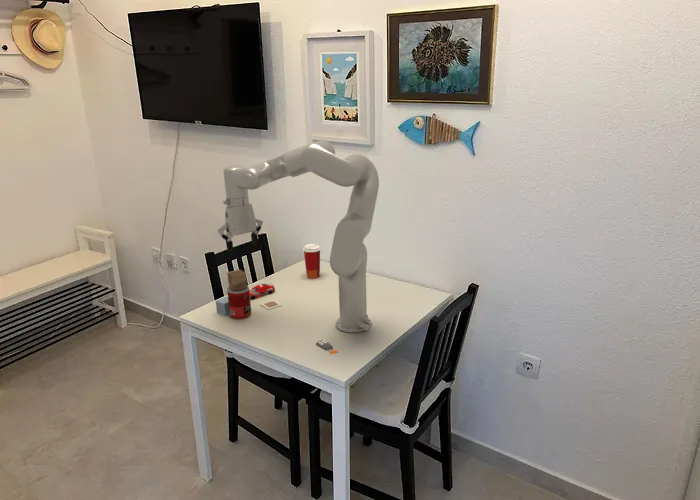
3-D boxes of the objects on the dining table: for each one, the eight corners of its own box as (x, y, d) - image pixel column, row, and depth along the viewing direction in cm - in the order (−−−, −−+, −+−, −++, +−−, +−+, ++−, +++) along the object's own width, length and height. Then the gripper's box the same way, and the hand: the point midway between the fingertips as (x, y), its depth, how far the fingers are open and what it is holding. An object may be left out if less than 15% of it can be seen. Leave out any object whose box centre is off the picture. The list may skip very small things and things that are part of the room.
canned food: (249, 319, 197) (246, 291, 194) (227, 319, 198) (224, 292, 194) (253, 310, 205) (250, 283, 201) (232, 310, 205) (229, 284, 201)
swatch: (281, 305, 208) (281, 304, 208) (268, 309, 204) (268, 308, 204) (274, 300, 212) (274, 299, 212) (260, 304, 209) (260, 303, 209)
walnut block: (247, 288, 197) (245, 272, 195) (234, 291, 194) (233, 276, 192) (241, 284, 201) (239, 269, 199) (228, 287, 198) (227, 272, 196)
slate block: (235, 311, 204) (234, 299, 203) (225, 316, 201) (224, 303, 199) (227, 308, 207) (226, 296, 206) (216, 312, 203) (215, 300, 202)
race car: (248, 302, 213) (247, 292, 211) (241, 297, 217) (240, 288, 215) (277, 293, 220) (276, 284, 219) (270, 289, 224) (269, 280, 223)
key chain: (314, 346, 178) (314, 342, 178) (323, 342, 180) (323, 338, 180) (338, 361, 168) (338, 357, 168) (347, 357, 171) (347, 353, 170)
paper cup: (315, 272, 241) (313, 242, 236) (325, 276, 235) (324, 246, 230) (300, 276, 236) (299, 246, 231) (311, 281, 230) (309, 250, 226)
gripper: (219, 207, 180) (225, 256, 186) (264, 198, 190) (269, 244, 196) (210, 204, 186) (216, 250, 191) (254, 195, 196) (259, 240, 201)
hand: (242, 247), depth 193 cm, fingers open, 9 cm apart
